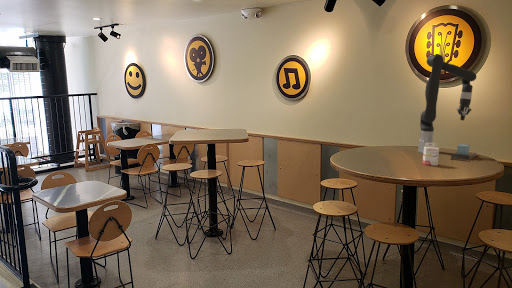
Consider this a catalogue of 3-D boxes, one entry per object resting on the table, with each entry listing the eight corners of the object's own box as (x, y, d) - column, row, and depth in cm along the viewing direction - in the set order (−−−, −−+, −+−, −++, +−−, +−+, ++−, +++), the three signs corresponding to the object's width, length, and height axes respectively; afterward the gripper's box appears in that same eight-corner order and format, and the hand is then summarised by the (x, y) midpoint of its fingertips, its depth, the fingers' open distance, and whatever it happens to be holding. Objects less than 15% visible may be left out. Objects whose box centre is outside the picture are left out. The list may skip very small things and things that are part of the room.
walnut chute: (459, 155, 295) (459, 149, 294) (476, 157, 287) (477, 151, 286) (450, 159, 278) (450, 153, 277) (468, 161, 270) (469, 155, 269)
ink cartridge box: (424, 165, 259) (426, 143, 257) (422, 163, 264) (423, 142, 261) (438, 165, 258) (439, 143, 256) (435, 163, 263) (437, 142, 261)
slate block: (459, 156, 284) (460, 143, 283) (468, 157, 280) (469, 144, 279) (456, 157, 278) (457, 145, 277) (465, 158, 274) (466, 146, 273)
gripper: (468, 98, 307) (465, 120, 309) (455, 97, 303) (451, 119, 305) (476, 98, 300) (472, 121, 302) (462, 98, 296) (459, 120, 298)
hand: (462, 120), depth 304 cm, fingers closed
